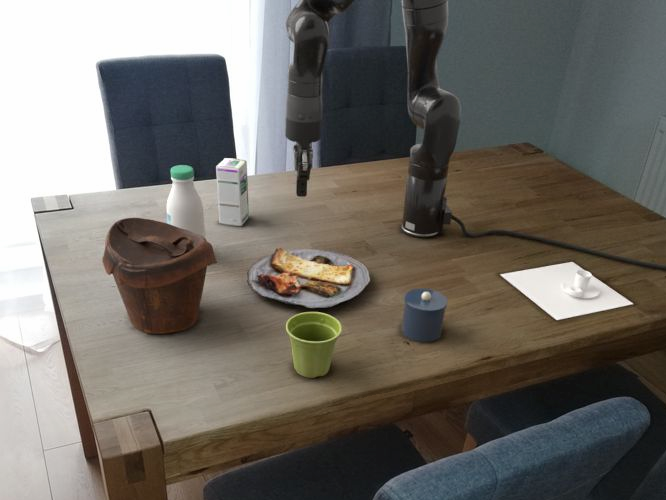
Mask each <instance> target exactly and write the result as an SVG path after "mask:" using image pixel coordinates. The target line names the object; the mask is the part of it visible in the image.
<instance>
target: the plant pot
mask: <svg viewBox="0 0 666 500" xmlns="http://www.w3.org/2000/svg"><path fill="white" fill-rule="evenodd" d="M342 329H343V327H342V324H341V322H340V321H339V320H338V319H337V318H336V317H334V316H332V315H330V314H329V313H325V312H319V311H305V312H300V313H297V314H295V315H293V316H291V317H290V318H288V320H287V321H286V323H285V330H286V333H287V335H288V337H289V339H290V345H291V352H292V359H293V361H292V362H293V367H294V370H295V371H296V373H297V374H298V375H300V376H301V377H304V378H310V379H315V378H316V377H324V376H325V375H327V374H328V373H329V371H330V367H331V363H332V358H333V355H334V350H335V346H336V342H337V341H338V338H339V337H340V335H341V334H342Z"/></svg>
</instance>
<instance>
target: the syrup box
mask: <svg viewBox="0 0 666 500" xmlns="http://www.w3.org/2000/svg"><path fill="white" fill-rule="evenodd" d="M215 173H216V174H215V175H216V176H215V177H216V187H217V188H216V191H217V205H218V222H219V224H222V225H227V226H235V227H243V225H244V224H245V223H246V221H247V220H248V219H249V216H250V210H249V208H250V207H249V186H248V185H249V183H248V162H247V160H246V159H241V158H232V157H231V158H230V157H228V158H227V157H224V158H223V160H221V161H220V162H218V164H217V165H216V166H215Z"/></svg>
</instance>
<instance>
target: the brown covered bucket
mask: <svg viewBox="0 0 666 500" xmlns="http://www.w3.org/2000/svg"><path fill="white" fill-rule="evenodd" d="M104 242H105V243H104V244H105V245H104V251H103V254H102V255H103V256H102V260H101V262H102V265H103V267H104V270H105V272H106V274H107V275H108V276H110V275H112V276H113V280H114V281H115V284H116V287H117V290H118V292H119V295H120V298H121V300H122V302H123V305H124V308H125V311H126V313H127V316H128V319H129V322H130V323H131V324H132V325H133V326H134V327H135V328H136V329H138V330H140V331H142V332H143V333H146V334H151V335H152V334H155V335H157V334H158V335H163V334H165V335H166V334H172V333H177V332H182V331H184V330H186V329H189V328H190V327H193V326H194V325H195V324H196V323H197V320H198V318H199V315H200V307H201V301H202V296H203V292H204V287H205V282H206V281H205V280H206V276H207V270H208V267H209V266H211V265H216V264H218V260H217V257H216V254H215V251H214V247H213V245H212V243H211V242H209V241H208V240H207V239H206V237H205V238H204V237H203V236H201V235H199V234H196V233H193V232H190V231H188V230H184V229H181V228H178V227H176V226H173V225H170V224H167V222H163V221H160V220H154V219H150V218H142V217H126V218H122V219H119V220H117V221H115V222H114V223H113V224H112V225H111V227H110V228H109V230H108V232H107V234H106V236H105V241H104Z"/></svg>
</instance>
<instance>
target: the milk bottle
mask: <svg viewBox="0 0 666 500" xmlns="http://www.w3.org/2000/svg"><path fill="white" fill-rule="evenodd" d="M170 180H171V181H172V185H171V189H170V192H169V194H168V196H167V201H166V223H167V224H170V225H173V226H176V227H178V228H181V229H184V230H188V231H190V232H193V233H196V234H199V235H201V236H203V237H204V238H205V239H206V230H205V228H206V227H205V214H204V206H203V201H202V199H201V196H200V194H199V193H198V191H197V189H196V187H195V183H194V180H195V171H194V168H193V167H192V166H190V165H186V164H179V165H174V166H172V167H171V168H170Z"/></svg>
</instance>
